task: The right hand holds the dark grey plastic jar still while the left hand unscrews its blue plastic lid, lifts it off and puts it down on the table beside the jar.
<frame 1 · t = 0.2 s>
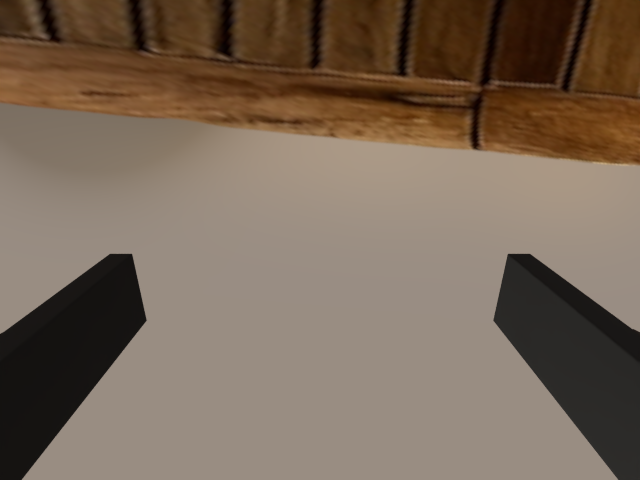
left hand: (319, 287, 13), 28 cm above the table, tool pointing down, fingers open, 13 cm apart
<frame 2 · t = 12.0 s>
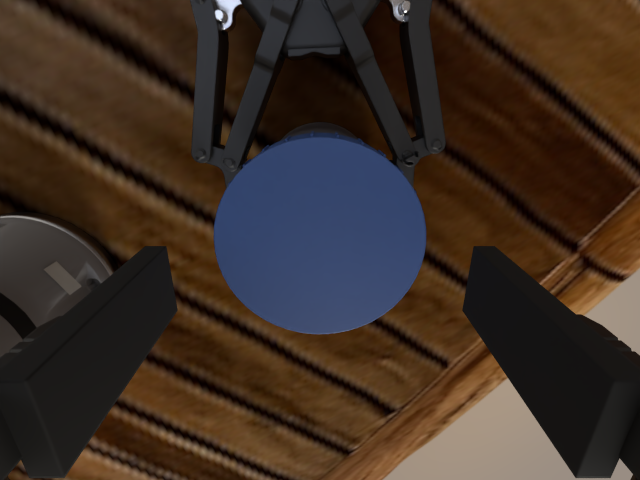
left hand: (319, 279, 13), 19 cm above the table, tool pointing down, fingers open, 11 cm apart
right hand: (322, 252, 27), fingers closed on jar, 9 cm apart
jar: (319, 176, 31), on the table, touching right hand
lid: (320, 243, 16), point 15 cm above the table, screwed on, not yet turned
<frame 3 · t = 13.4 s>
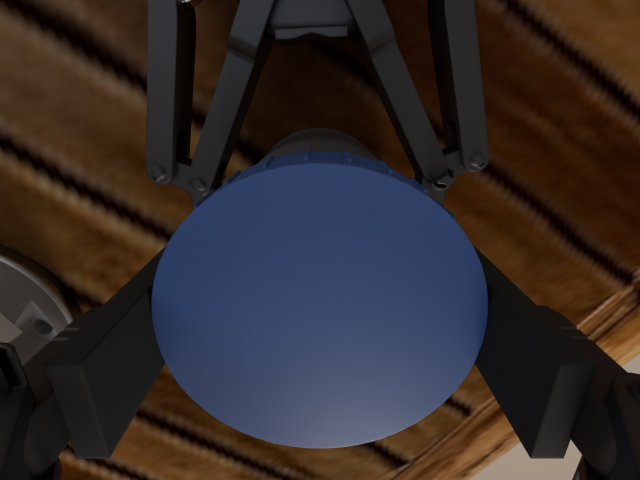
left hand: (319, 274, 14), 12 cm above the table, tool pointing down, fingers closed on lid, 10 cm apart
jar: (319, 194, 25), on the table, touching right hand
lid: (319, 323, 10), point 15 cm above the table, screwed on, not yet turned, touching left hand
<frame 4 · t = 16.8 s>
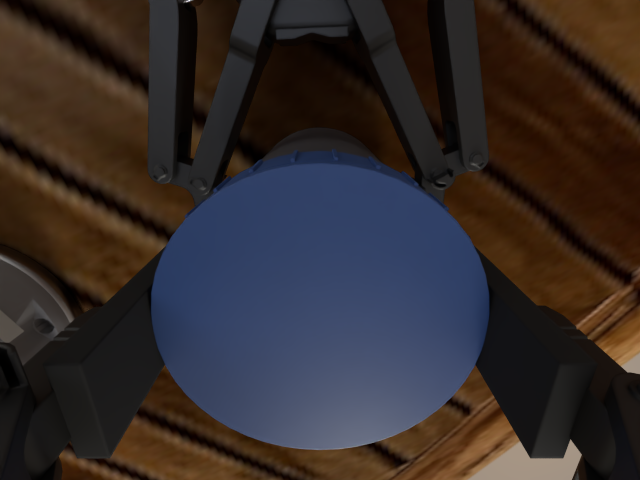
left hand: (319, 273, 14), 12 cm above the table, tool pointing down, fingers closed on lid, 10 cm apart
jar: (320, 194, 25), on the table, touching right hand
lid: (320, 324, 10), point 16 cm above the table, turned 94° so far, risen 0.1 cm, still on its thread, touching left hand
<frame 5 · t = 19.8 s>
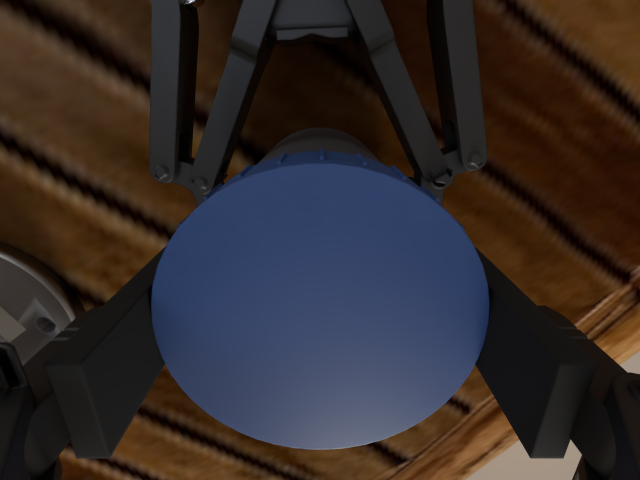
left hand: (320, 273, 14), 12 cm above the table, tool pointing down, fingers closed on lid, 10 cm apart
jar: (320, 193, 25), on the table, touching right hand
lid: (320, 324, 10), point 16 cm above the table, turned 188° so far, risen 0.3 cm, still on its thread, touching left hand
when the left hand's fingers open (0 cm above the table, at t = 29.8 s): lid drops 2 cm, point 2 cm above the table.
when the right hand's fingers open (6 cm above the table, at t = 30.8 s): jar stays where it is, on the table.
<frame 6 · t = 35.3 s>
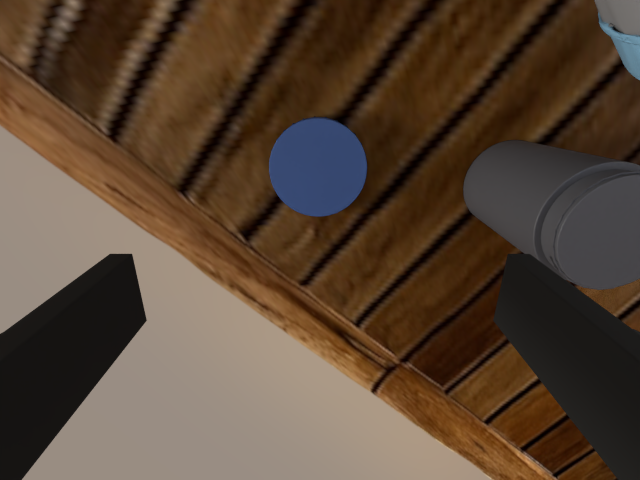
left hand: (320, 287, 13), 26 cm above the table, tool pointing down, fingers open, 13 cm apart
jar: (505, 183, 37), on the table
lid: (318, 169, 35), point 2 cm above the table, off its thread
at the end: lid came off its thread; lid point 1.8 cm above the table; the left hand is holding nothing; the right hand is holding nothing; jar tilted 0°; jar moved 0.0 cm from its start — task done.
